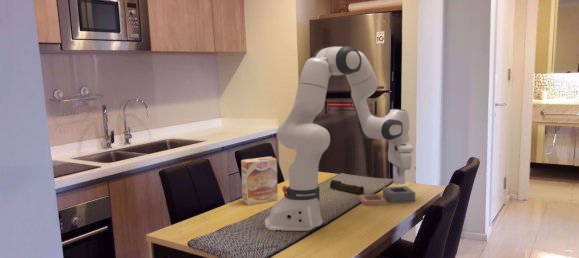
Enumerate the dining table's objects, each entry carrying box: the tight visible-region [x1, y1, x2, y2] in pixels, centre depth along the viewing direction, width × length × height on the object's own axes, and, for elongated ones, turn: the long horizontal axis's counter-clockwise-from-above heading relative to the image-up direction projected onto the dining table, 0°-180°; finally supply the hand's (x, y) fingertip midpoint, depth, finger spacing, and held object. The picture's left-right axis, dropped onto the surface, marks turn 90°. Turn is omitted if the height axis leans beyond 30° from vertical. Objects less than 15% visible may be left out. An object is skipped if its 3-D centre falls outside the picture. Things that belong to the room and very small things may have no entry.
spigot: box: [392, 164, 406, 185], centre depth 196 cm, size 4×4×8 cm
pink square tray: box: [358, 193, 387, 207], centre depth 193 cm, size 10×10×2 cm
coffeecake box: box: [240, 155, 279, 206], centre depth 199 cm, size 15×7×20 cm, turn 118°
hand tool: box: [329, 179, 365, 195], centre depth 212 cm, size 19×4×5 cm, turn 44°
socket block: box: [382, 185, 416, 204], centre depth 197 cm, size 11×11×4 cm
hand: (398, 175), depth 196 cm, fingers closed on spigot, 4 cm apart
